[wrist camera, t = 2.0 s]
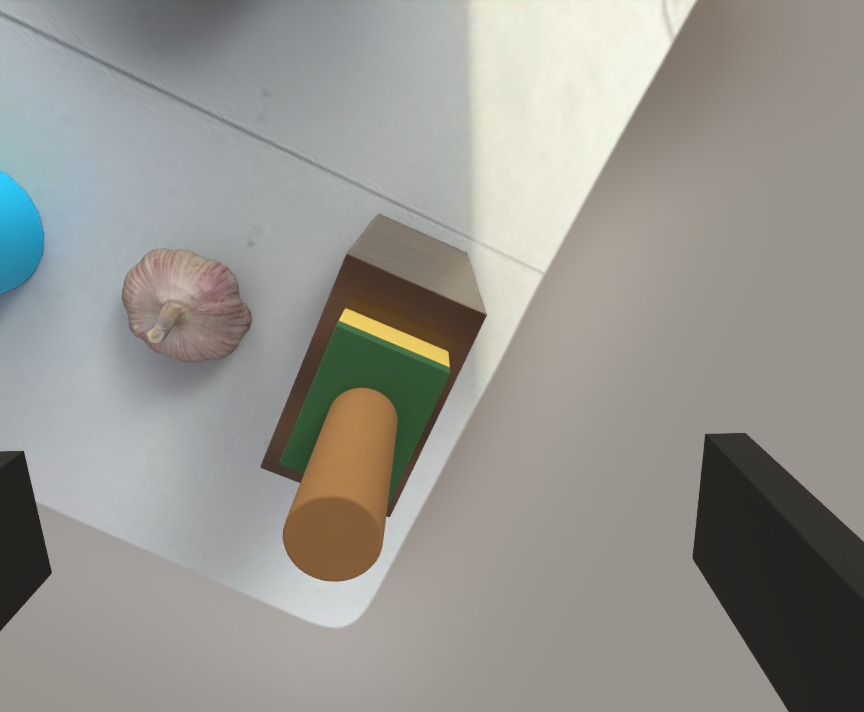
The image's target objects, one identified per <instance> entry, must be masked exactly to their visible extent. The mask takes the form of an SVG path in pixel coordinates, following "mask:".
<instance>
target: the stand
mask: <svg viewBox="0 0 864 712" xmlns="http://www.w3.org/2000/svg"><path fill="white" fill-rule="evenodd" d="M345 309H349V310H352V311H354V312H356V313H359V314H361V315H363V316H366V317H368V318H370V319H373V320H375V321H378V322H380V323H382V324H385V325H387V326H389V327H392V328H394V329H396V330H399V331H401V332H403V333H406V334H408V335H411V336H413V337H415V338H418V339H420V340H422V341H425V342H427V343H429V344H432V345H434V346H436V347H439V348H441V349H444V350H446V351H448V352H449V363H450V376H449V378H448V380H447V382H446V384H445V386H444V389H443V391H442V393H441V395H440V397H439V399H438V401H437V403H436V405H435V407H434V410H433V412H432V414H431V416H430V418H429V420H428V422H427V424H426V426H425V428H424V431H423V433H422V435H421V437H420V439H419V441H418V443H417V445H416V447H415V449H414V451H413V454H412V456H411V458H410V460H409V462H408V464H407V466H406V468H405V470H404V472H403V475H402V477H401V479H400V481H399V483H398V485H397V487H396V489H395V491H394V493H393V496H392V498H391V500H390V502H389V504H388V505H387V513H386V516H387V517H390V516H391V514H392V512H393V510H394V507H395V505H396V503H397V501H398V499H399V497H400V495H401V493H402V491H403V489H404V487H405V485H406V482H407V480H408V478H409V476H410V474H411V472H412V470H413V468H414V466H415V464H416V462H417V460H418V457H419V455H420V453H421V451H422V449H423V447H424V445H425V443H426V441H427V439H428V437H429V435H430V433H431V430H432V428H433V426H434V424H435V422H436V420H437V418H438V416H439V414H440V412H441V410H442V408H443V405H444V403H445V401H446V399H447V397H448V395H449V393H450V391H451V389H452V387H453V385H454V383H455V380H456V378H457V376H458V374H459V372H460V370H461V368H462V366H463V364H464V362H465V360H466V358H467V355H468V353H469V351H470V349H471V347H472V345H473V343H474V341H475V339H476V337H477V335H478V333H479V330H480V328H481V326H482V324H483V322H484V320H485V318H486V316H487V314H486V311H485V308H484V304H483V301H482V298H481V295H480V292H479V289H478V286H477V283H476V280H475V277H474V273H473V270H472V267H471V264H470V261H469V258H468V255H467V253H466V252H464V251H462V250H459V249H457V248H455V247H453V246H450V245H448V244H446V243H444V242H441V241H439V240H437V239H435V238H432V237H430V236H428V235H426V234H423V233H421V232H419V231H417V230H414V229H412V228H410V227H408V226H405V225H403V224H401V223H399V222H397V221H394V220H392V219H390V218H388V217H385V216H383V215H381V214H378V215H377V216H376V217H375V219H374V220H373V221H372V222H371V224H370V225H369V226H368V227H367V229H366V230H365V231H364V233H363V234H362V235H361V236H360V238H359V239H358V240H357V241H356V243H355V244H354V245H353V246H352V248H351V249H350V250H349V251H348V253H347V254H346V256H345V259H344V261H343V264H342V266H341V268H340V271H339V273H338V276H337V278H336V281H335V283H334V286H333V288H332V291H331V293H330V296H329V298H328V301H327V303H326V306H325V308H324V311H323V313H322V315H321V318H320V320H319V323H318V325H317V328H316V330H315V333H314V335H313V338H312V340H311V343H310V345H309V348H308V350H307V353H306V355H305V357H304V360H303V362H302V365H301V367H300V370H299V372H298V375H297V377H296V380H295V382H294V385H293V387H292V390H291V392H290V395H289V397H288V400H287V402H286V404H285V407H284V409H283V412H282V414H281V417H280V419H279V422H278V424H277V427H276V429H275V432H274V434H273V437H272V439H271V442H270V444H269V446H268V449H267V451H266V454H265V456H264V459H263V461H262V464H261V468H263V469H265V470H268V471H271V472H273V473H276V474H278V475H281V476H283V477H286V478H289V479H291V480H294V481H296V482H299V483H301V481H302V478H303V476H304V473H302V472H299V471H297V470H294V469H292V468H289V467H286V466H284V465H281V464H280V460H281V457H282V455H283V452H284V450H285V447H286V445H287V443H288V440H289V438H290V435H291V433H292V431H293V428H294V426H295V423H296V421H297V418H298V416H299V414H300V411H301V409H302V406H303V404H304V401H305V399H306V397H307V394H308V392H309V389H310V387H311V385H312V382H313V380H314V377H315V375H316V372H317V370H318V368H319V365H320V363H321V360H322V358H323V355H324V353H325V351H326V348H327V346H328V343H329V341H330V339H331V336H332V334H333V331H334V329H335V326H336V324H337V323H338V321H339V319H340V317H341V315H342V313H343V311H344V310H345Z"/></svg>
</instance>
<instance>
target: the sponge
mask: <svg viewBox="0 0 864 712" xmlns="http://www.w3.org/2000/svg"><path fill="white" fill-rule="evenodd" d="M449 376H450V363H449V352H448V351H446V350H444V349H441V348H439V347H436V346H434V345H432V344H429V343H427V342H425V341H422V340H420V339H418V338H415V337H413V336H411V335H408V334H406V333H403V332H401V331H399V330H396V329H394V328H392V327H389V326H387V325H385V324H382V323H380V322H378V321H375V320H373V319H370V318H368V317H366V316H363V315H361V314H359V313H356V312H354V311H352V310H349V309H345V310H344V311H343V313H342V315H341V317H340V319H339V321H338V323H337V324H336V326H335V329H334V331H333V334H332V336H331V339H330V341H329V343H328V346H327V348H326V351H325V353H324V355H323V358H322V360H321V363H320V365H319V368H318V370H317V372H316V375H315V377H314V380H313V382H312V385H311V387H310V389H309V392H308V394H307V397H306V399H305V401H304V404H303V406H302V409H301V411H300V414H299V416H298V418H297V421H296V423H295V426H294V428H293V431H292V433H291V435H290V438H289V440H288V443H287V445H286V447H285V450H284V452H283V455H282V457H281V460H280V464H281V465H284V466H286V467H289V468H292V469H294V470H297V471H299V472H302V473H304V476H303V478H302V481H301V483H300V486H299V488H298V491H297V493H296V496H295V499H294V501H293V504H292V506H291V509H290V511H289V514H288V517H287V519H286V522H285V525H284V529H283V542H284V546H285V549H286V552H287V554H288V556H289V557H290V559H291V560H292V562H293V563H294V564H295V565H296V566H297V567H298V568H299V569H300V570H302V571H303V572H304V573H306V574H308V575H309V576H312V577H314V578H317V579H320V580H325V581H345V580H349V579H353V578H355V577H358V576H359V575H361V574H363V573H364V572H366V571H367V570H368V569H369V568H370V567H371V566H372V565H373V564H374V563H375V562H376V560H377V559H378V557H379V555H380V552H381V549H382V545H383V537H384V529H385V521H386V513H387V505H388V504H389V502H390V500H391V498H392V496H393V493H394V491H395V489H396V487H397V485H398V483H399V481H400V479H401V477H402V475H403V472H404V470H405V468H406V466H407V464H408V462H409V460H410V458H411V456H412V454H413V451H414V449H415V447H416V445H417V443H418V441H419V439H420V437H421V435H422V433H423V431H424V428H425V426H426V424H427V422H428V420H429V418H430V416H431V414H432V412H433V410H434V407H435V405H436V403H437V401H438V399H439V397H440V395H441V393H442V391H443V389H444V386H445V384H446V382H447V380H448V378H449Z"/></svg>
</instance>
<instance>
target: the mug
mask: <svg viewBox="0 0 864 712" xmlns="http://www.w3.org/2000/svg"><path fill="white" fill-rule="evenodd" d="M43 238H44V232H43V229H42V225H41V221H40V217H39V214H38V211H37V209H36V208H35V206H34V204H33V203H32V201H31V199H30V198H29V196H28V194H27V193H26V192H25V191H24V190H23V189H22V188H21V187H20V186H19V185H18V184H17V183H16V182H15V181H14V180H13V179H12V178H11V177H10V176H8V175H6V174H5V173H3V172H1V171H0V294H1V293H4V292H7V291H9V290H11V289H13V288H15V287H18V286H20V285H22V284H23V283H24V282H25V281H26V280H27V279H28V278H29V277H30V276H31V275H32V274H33V273H34V272H35V271H36V268H37V266H38V263H39V261H40V259H41V256H42V254H43Z"/></svg>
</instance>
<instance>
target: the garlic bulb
mask: <svg viewBox="0 0 864 712" xmlns="http://www.w3.org/2000/svg"><path fill="white" fill-rule="evenodd" d="M122 299H123V304H124V306H125V308H126V310H127V313H128V318H129V327H130V330H131V331H132V333H133V334H134V335H135V336H136V337H138V338H140V339H142V340H144V341H145V342H146V343H147V344H148V345H149V347H150V348H151V349H153V350H154V351H156V352H158V353H160V354H165V355H170V356H173V357H175V358H177V359H179V360H182V361H185V362H199V361H202V360H206V359H220V358H223V357H226V356H228V355H229V354H231V353H232V352H233V351H234V350H235V349H236V347H237V346H238V344H239V342H240V340H241V338H242V337H243V335H244V334H245V333H246V332H247V331H248V330H249V328H250V325H251V322H252V316H251V312H250V310H249V308H248V307H247V306H246V304H245V303H243V302H242V300H241V298H240V295H239V286H238V282H237V279H236V277H235V275H234V274H233V272H232V271H231V270H230V269H229V268H228V267H226V266H225V265H223V264H222V263H220V262H217V261H212V260H206V259H203V258H201V257H200V256H198V255H197V254H195V253H193V252H190V251H187V250H174V251H173V250H170V249H163V248H161V249H156V250H153V251H151V252H149V253H147V254H146V255H145V256H144V257H143V258H142V260H141V261H140V262H139V263H138V264H137V265H136V266H135V267H133V268H132V269H131V270H130V271H129V272H128V273H127V275H126V278H125V281H124V286H123V291H122Z"/></svg>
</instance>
